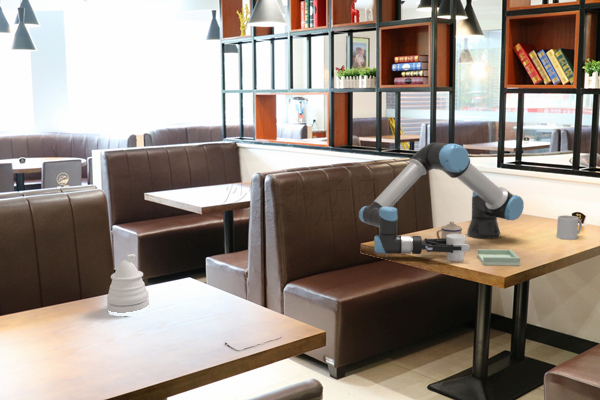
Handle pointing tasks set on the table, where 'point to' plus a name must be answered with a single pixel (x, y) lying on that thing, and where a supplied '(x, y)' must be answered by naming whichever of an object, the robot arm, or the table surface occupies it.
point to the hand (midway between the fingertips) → (467, 245)
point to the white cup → (455, 239)
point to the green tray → (498, 257)
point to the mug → (568, 227)
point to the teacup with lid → (449, 230)
